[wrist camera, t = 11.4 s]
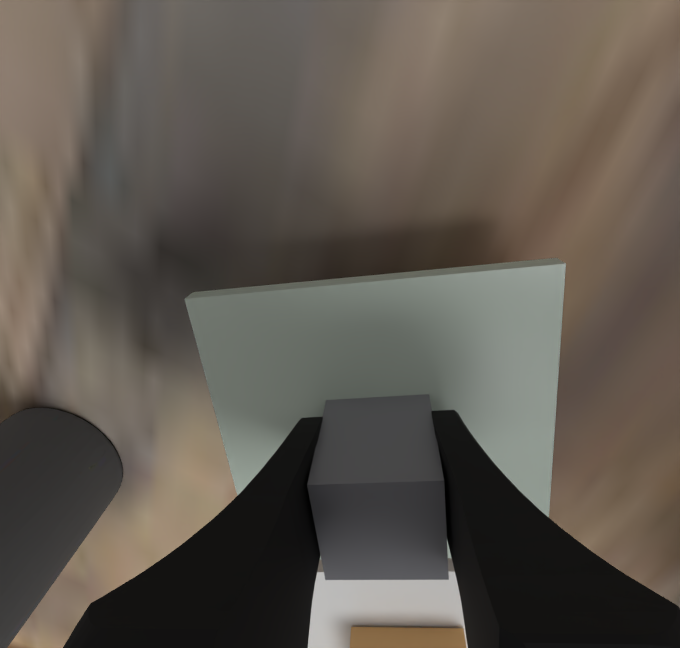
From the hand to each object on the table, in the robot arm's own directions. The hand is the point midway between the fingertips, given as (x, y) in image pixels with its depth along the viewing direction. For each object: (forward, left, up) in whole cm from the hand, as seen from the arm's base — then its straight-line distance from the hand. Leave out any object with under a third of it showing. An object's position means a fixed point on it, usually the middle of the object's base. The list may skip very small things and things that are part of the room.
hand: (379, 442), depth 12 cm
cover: (0, +1, -2) cm, 2 cm away
